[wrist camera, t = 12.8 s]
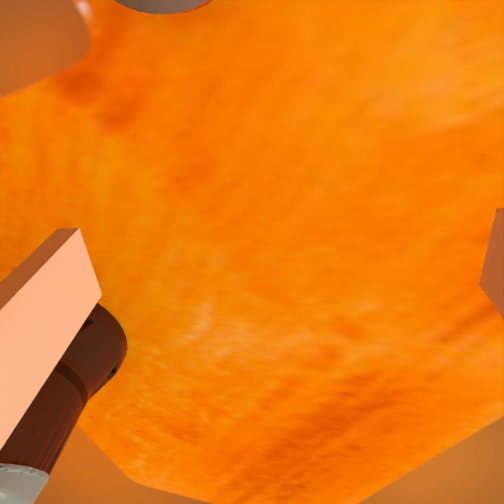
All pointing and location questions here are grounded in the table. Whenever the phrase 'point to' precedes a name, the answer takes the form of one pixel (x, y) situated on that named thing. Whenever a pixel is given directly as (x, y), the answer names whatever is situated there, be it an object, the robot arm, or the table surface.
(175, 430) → the table surface
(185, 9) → the stand
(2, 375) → the robot arm
